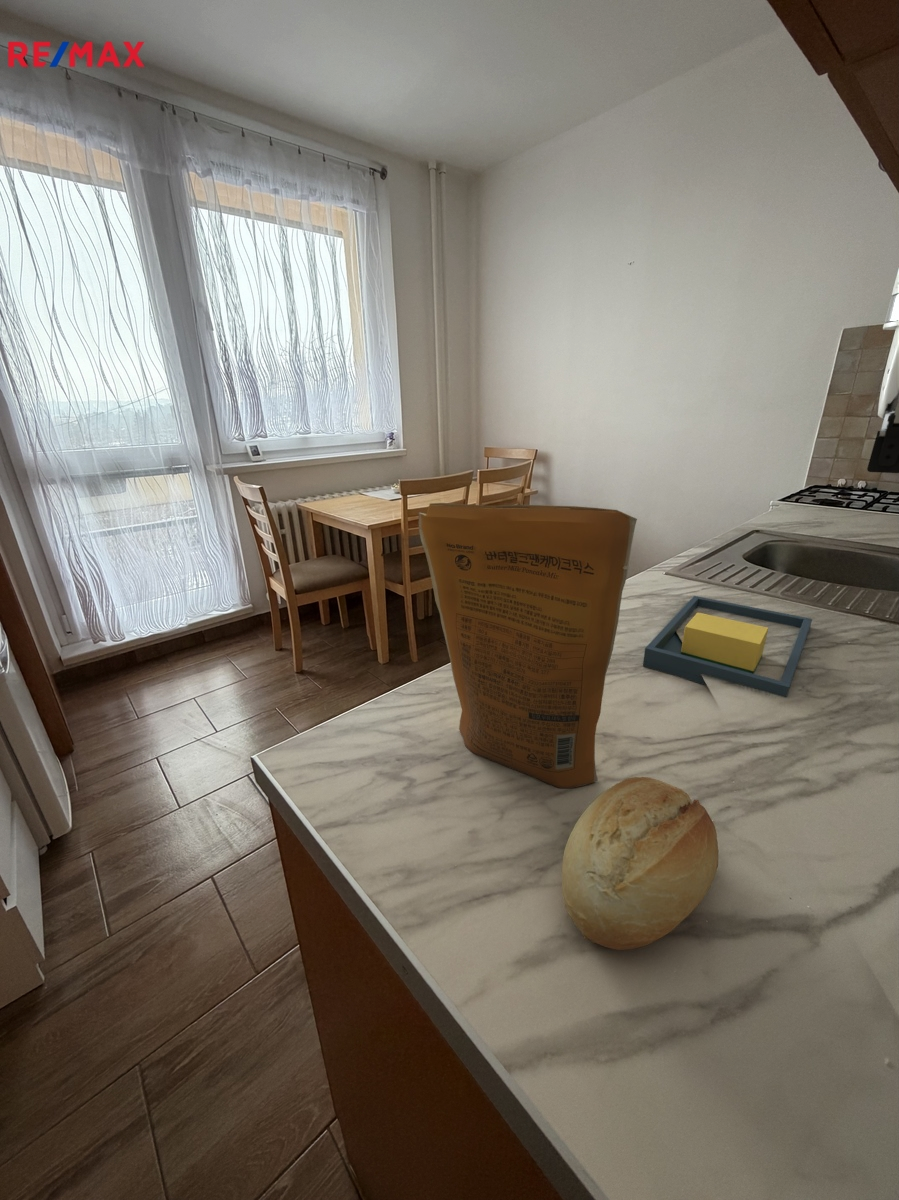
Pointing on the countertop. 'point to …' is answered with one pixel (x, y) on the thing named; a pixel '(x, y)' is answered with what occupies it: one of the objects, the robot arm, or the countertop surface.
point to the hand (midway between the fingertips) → (884, 467)
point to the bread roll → (638, 863)
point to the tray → (669, 660)
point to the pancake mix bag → (529, 626)
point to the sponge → (724, 642)
